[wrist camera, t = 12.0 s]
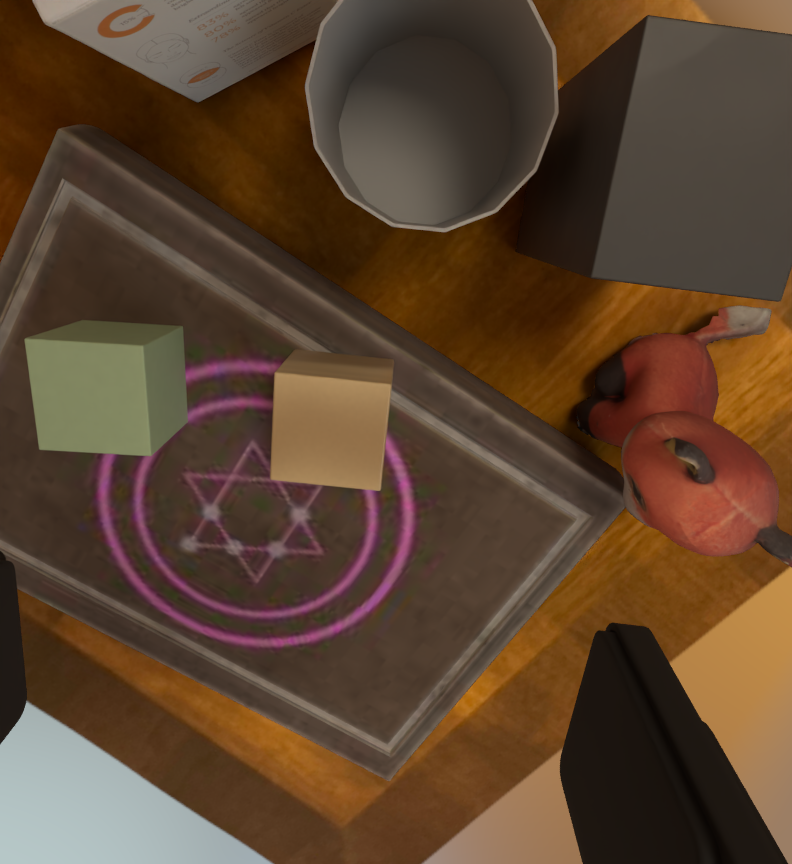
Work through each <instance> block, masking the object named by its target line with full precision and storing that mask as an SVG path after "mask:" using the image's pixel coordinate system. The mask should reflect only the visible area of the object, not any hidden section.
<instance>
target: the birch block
mask: <svg viewBox="0 0 792 864" xmlns="http://www.w3.org/2000/svg"><path fill="white" fill-rule="evenodd" d="M393 369H394V360H393V359H385V358H375V357H366V356H356V355H347V354H337V353H328V352H319V351H309V350H300V349H295V350H294V351H293V352H292V353H291V354H290V355H289V357H288V358H287V359H286V360H285V361H284V362H283V364H282V365H281V366H280V367H279V368H278V369H277V370H276V372H275V373H274V392H273V416H272V440H271V464H270V479H271V480H277V481H287V482H297V483H307V484H316V485H326V486H336V487H345V488H355V489H365V490H375V491H380V490H381V484H382V475H383V465H384V455H385V446H386V436H387V427H388V417H389V408H390V398H391V389H392V379H393Z"/></svg>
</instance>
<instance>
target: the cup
mask: <svg viewBox="0 0 792 864" xmlns="http://www.w3.org/2000/svg"><path fill="white" fill-rule="evenodd" d="M305 92H306V98H307V105H308V111H309V117H310V124H311V130H312V136H313V143H314V148H315V150H316V151H317V153H318V154H319V156H320V158H321V159H322V161H323V162H324V164H325V166H326V167H327V169H328V170H329V172H330V173H331V175H332V177H333V178H334V180H335V181H336V183H337V184H338V186H339V188H340V189H341V191H342V192H343V194H344V195H345V197H346V198H347V199H349V200H351V201H352V202H354V203H355V204H357V205H358V206H360V207H362V208H363V209H365V210H366V211H368V212H369V213H371V214H373V215H374V216H376V217H377V218H379V219H380V220H382V221H384V222H385V223H387V224H388V225H390V226H391V227H398V228H408V229H418V230H428V231H438V232H447V231H450V230H452V229H455V228H458V227H460V226H463V225H465V224H468V223H471V222H473V221H476V220H479V219H481V218H484V217H486V216H489V215H492V214H494V213H497V212H498V211H499V209H500V208H501V207H502V206H503V205H504V204H505V203H506V202H507V201H508V200H509V199H510V198H511V197H512V196H513V195H514V194H515V193H516V192H517V191H518V190H519V189H520V188H521V187H522V186H523V185H524V184H525V183H526V182H527V180H528V179H529V178H530V177H531V176H532V175H533V174H534V173H535V172H536V171H537V169H538V167H539V164H540V161H541V159H542V156H543V153H544V151H545V148H546V145H547V143H548V140H549V137H550V135H551V132H552V129H553V127H554V124H555V121H556V119H557V116H558V113H559V106H558V83H557V59H556V47H555V45H554V43H553V41H552V39H551V37H550V35H549V33H548V31H547V29H546V27H545V25H544V23H543V21H542V19H541V17H540V15H539V13H538V11H537V9H536V7H535V5H534V3H533V1H532V0H339V1H338V2H337V3H336V5H335V6H334V7H333V8H332V10H331V11H330V12H329V13H328V15H327V16H326V17H325V18H324V20H323V21H322V22H321V23H320V27H319V31H318V35H317V39H316V43H315V47H314V51H313V55H312V59H311V63H310V67H309V71H308V75H307V79H306V83H305Z"/></svg>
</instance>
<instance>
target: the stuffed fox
mask: <svg viewBox="0 0 792 864" xmlns="http://www.w3.org/2000/svg"><path fill="white" fill-rule="evenodd" d="M770 316H771V310H770V309H766V308H753V307H747V306H732V307H726V308H719V316H713V317H712V320H711V322H710V324H709V325H708V326H706V327H703V328H702V329H700V330H698V331H697V332H696V333H691V332H690V333H689V334H687V335H678V334H672V333H661V334H658V333H654V334H653V335H647V336H643V337H642V336H639V337H637V338H635V339H634V340H632V341H631V342H630V343H629V344H628V346H627V347H626V348H625V349H623V350H622V351H620V352H618V353H617V354H615V355H614V357H612V358H611V359H610V360H608V361H607V362H606V363H604V364H603V365H602V366H601V368H600V369H599V370H598V372H597V374H596V376H595V387H594V389H593V390H592V392H591V397H589V398H587V400H585V401H583V402H581V403H580V404H579V405H578V407H577V417H576V418H577V419H578V422H577V424H578V425H579V426H578V428H579V429H580V430H581V431H582V432H584V433H585V434H587V435H590V436H591V437H593V438H595V439H597V440H601V441H604V442H606V443H609V444H612V445H615V446H618V447H622V451H621V459H622V469H623V475H624V489H623V501H624V504H625V507H626V508H627V510H628V511H629V512H630V514H632V515H633V516H634V517H635V518H637V519H638V520H639V521H641V522H642V523H644V524H645V525H647V526H649V527H652V528H655V529H657V530H659V531H660V532H662V533H663V534H664V535H666V536H667V537H668V538H670V539H671V540H672V541H674V542H675V543H677V544H678V545H680V546H682V547H684V548H686V549H688V550H691V551H693V552H696V553H698V554H701V555H706V556H727V555H734V554H738V553H742V552H744V551H746V550H748V549H750V548H751V547H753V546H754V545H755V544H756V543H759V544H760V545H761V546H762V547H763V548H764V549H765V550H766V551H767V552H769V553H770V554H771V555H773V556H774V557H776V558H777V559H779V560H781V561H782V562H784V563H785V564H787V565H789V566H791V567H792V536H790V535H789V534H787V533H785V532H783V531H782V530H780V529H779V528H778V526H777V513H778V505H779V491H778V486H777V482H776V480H775V477H774V475H773V473H772V470H771V468H770V466H769V465H768V464H767V462H766V461H765V460H764V459H763V458H762V457H761V456H760V455H759V454H758V453H757V452H756V451H755V450H754V449H753V448H752V447H751V446H750V445H748V444H747V443H746V442H744V441H743V440H742V439H740V438H739V437H737V436H736V435H734V434H733V433H732V432H730V431H729V430H727V429H725V428H724V427H722V426H720V425H719V424H717V423H715V422H714V421H713V416H714V413H715V409H716V405H717V400H718V396H719V394H718V384H717V375H716V371H715V368H714V365H713V362H712V359H711V357H710V355H709V353H708V350H707V348H706V345H707V344H708V343H713V342H714V341H718V340H720V339H733V338H741V337H746V336H750V335H759V334H763V333H765V331H766V330H767V328H768V325H769V321H770Z"/></svg>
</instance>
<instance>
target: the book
mask: <svg viewBox="0 0 792 864" xmlns="http://www.w3.org/2000/svg"><path fill="white" fill-rule="evenodd" d="M81 320H91V321H108V322H124V323H141V324H157V325H174V326H183V336H184V355H185V374H186V393H187V412H188V422H187V423H186V424H185V425H184V426H183V427H182V428H181V429H180V430H179V431H178V432H177V433H175V434H174V435H173V436H172V437H171V438H170V439H169V440H168V441H167V442H166V443H165V444H164V445H163V446H161V447H160V448H159V449H158V450H157V451H156V452H155V453H154V454H153V455H152V456H137V455H120V454H104V453H87V452H70V451H54V450H40V449H39V444H38V437H37V429H36V422H35V414H34V407H33V400H32V392H31V385H30V377H29V370H28V362H27V355H26V348H25V338H28V337H31V336H34V335H37V334H40V333H43V332H47V331H50V330H53V329H56V328H59V327H62V326H66V325H69V324H72V323H75V322H78V321H81ZM295 349H300V350H309V351H319V352H328V353H337V354H347V355H356V356H366V357H375V358H385V359H393V360H394V369H393V379H392V389H391V398H390V408H389V417H388V427H387V436H386V446H385V455H384V465H383V475H382V484H381V490H380V491H375V490H365V489H355V488H345V487H336V486H326V485H316V484H307V483H297V482H287V481H277V480H271V479H270V464H271V440H272V416H273V392H274V373H275V372H276V370H277V369H278V368H279V367H280V366H281V365H282V364H283V362H284V361H285V360H286V359H287V358H288V357H289V355H290V354H291V353H292V352H293V351H294V350H295ZM623 489H624V478H623V477H622V475H621V474H620V473H619V472H618V471H617V470H616V469H615V468H614V467H612V466H611V465H609V464H608V463H606V462H605V461H603V460H602V459H600V458H599V457H597V456H596V455H594V454H593V453H591V452H589V451H588V450H586V449H585V448H583V447H582V446H580V445H579V444H577V443H576V442H574V441H573V440H571V439H570V438H568V437H567V436H565V435H564V434H562V433H561V432H559V431H558V430H556V429H555V428H553V427H552V426H550V425H549V424H547V423H546V422H544V421H543V420H541V419H539V418H538V417H536V416H535V415H533V414H532V413H530V412H529V411H527V410H526V409H524V408H523V407H521V406H520V405H518V404H517V403H515V402H514V401H512V400H511V399H509V398H508V397H506V396H505V395H503V394H502V393H500V392H499V391H497V390H496V389H494V388H493V387H491V386H489V385H488V384H486V383H485V382H483V381H482V380H480V379H479V378H477V377H476V376H474V375H473V374H471V373H470V372H468V371H467V370H465V369H464V368H462V367H461V366H459V365H458V364H456V363H455V362H453V361H452V360H450V359H449V358H447V357H446V356H444V355H443V354H441V353H439V352H438V351H436V350H435V349H433V348H432V347H430V346H429V345H427V344H426V343H424V342H423V341H421V340H420V339H418V338H417V337H415V336H414V335H412V334H411V333H409V332H408V331H406V330H405V329H403V328H402V327H400V326H399V325H397V324H396V323H394V322H392V321H391V320H389V319H388V318H386V317H385V316H383V315H382V314H380V313H379V312H377V311H376V310H374V309H373V308H371V307H370V306H368V305H367V304H365V303H364V302H362V301H361V300H359V299H358V298H356V297H355V296H353V295H352V294H350V293H349V292H347V291H346V290H344V289H342V288H341V287H339V286H338V285H336V284H335V283H333V282H332V281H330V280H329V279H327V278H326V277H324V276H323V275H321V274H320V273H318V272H317V271H315V270H314V269H312V268H311V267H309V266H308V265H306V264H305V263H303V262H302V261H300V260H299V259H297V258H296V257H294V256H292V255H291V254H289V253H288V252H286V251H285V250H283V249H282V248H280V247H279V246H277V245H276V244H274V243H273V242H271V241H270V240H268V239H267V238H265V237H264V236H262V235H261V234H259V233H258V232H256V231H255V230H253V229H252V228H250V227H249V226H247V225H246V224H244V223H242V222H241V221H239V220H238V219H236V218H235V217H233V216H232V215H230V214H229V213H227V212H226V211H224V210H223V209H221V208H220V207H218V206H217V205H215V204H214V203H212V202H211V201H209V200H208V199H206V198H205V197H203V196H202V195H200V194H199V193H197V192H196V191H194V190H192V189H191V188H189V187H188V186H186V185H185V184H183V183H182V182H180V181H179V180H177V179H176V178H174V177H173V176H171V175H170V174H168V173H167V172H165V171H164V170H162V169H161V168H159V167H158V166H156V165H155V164H153V163H152V162H150V161H149V160H147V159H145V158H144V157H142V156H141V155H139V154H138V153H136V152H135V151H133V150H132V149H130V148H129V147H127V146H126V145H124V144H123V143H121V142H120V141H118V140H117V139H115V138H114V137H112V136H111V135H109V134H108V133H106V132H105V131H103V130H101V129H100V128H97V127H94V126H91V125H86V124H78V125H73V126H69V127H64V128H59V129H58V130H57V133H56V135H55V137H54V140H53V142H52V144H51V146H50V149H49V151H48V153H47V156H46V158H45V160H44V163H43V165H42V167H41V170H40V172H39V174H38V177H37V179H36V181H35V184H34V186H33V188H32V191H31V193H30V195H29V198H28V200H27V202H26V205H25V207H24V209H23V212H22V214H21V216H20V218H19V221H18V223H17V225H16V228H15V230H14V232H13V235H12V237H11V239H10V242H9V244H8V246H7V249H6V251H5V253H4V256H3V258H2V260H1V263H0V551H1V552H3V554H4V555H5V557H6V560H7V561H11V562H12V563H13V564H14V567H15V573H16V583H17V589H19V590H21V591H23V592H25V593H27V594H29V595H31V596H33V597H35V598H37V599H38V600H40V601H42V602H44V603H46V604H48V605H50V606H52V607H54V608H56V609H58V610H60V611H62V612H64V613H65V614H67V615H69V616H71V617H73V618H75V619H77V620H79V621H81V622H83V623H85V624H87V625H89V626H91V627H93V628H94V629H96V630H98V631H100V632H102V633H104V634H106V635H108V636H110V637H112V638H114V639H116V640H118V641H120V642H121V643H123V644H125V645H127V646H129V647H131V648H133V649H135V650H137V651H139V652H141V653H143V654H145V655H147V656H148V657H150V658H152V659H154V660H156V661H158V662H160V663H162V664H164V665H166V666H168V667H170V668H172V669H174V670H175V671H177V672H179V673H181V674H183V675H185V676H187V677H189V678H191V679H193V680H195V681H197V682H199V683H201V684H202V685H204V686H206V687H208V688H210V689H212V690H214V691H216V692H218V693H220V694H222V695H224V696H226V697H228V698H230V699H231V700H233V701H235V702H237V703H239V704H241V705H243V706H245V707H247V708H249V709H251V710H253V711H255V712H257V713H258V714H260V715H262V716H264V717H266V718H268V719H270V720H272V721H274V722H276V723H278V724H280V725H282V726H284V727H285V728H287V729H289V730H291V731H293V732H295V733H297V734H299V735H301V736H303V737H305V738H307V739H309V740H311V741H312V742H314V743H316V744H318V745H320V746H322V747H324V748H326V749H328V750H330V751H332V752H334V753H336V754H338V755H339V756H341V757H343V758H345V759H347V760H349V761H351V762H353V763H355V764H357V765H359V766H361V767H363V768H365V769H367V770H368V771H370V772H372V773H374V774H376V775H378V776H380V777H382V778H384V779H386V780H388V781H390V780H391V779H392V777H393V776H394V775H395V774H396V773H397V772H398V770H399V769H400V768H401V767H402V766H403V765H404V764H405V762H406V761H407V760H408V759H409V758H410V757H411V755H412V754H413V753H414V752H415V751H416V750H417V748H418V747H419V746H420V745H421V744H422V743H423V741H424V740H425V739H426V738H427V737H428V736H429V735H430V733H431V732H432V731H433V730H434V729H435V728H436V726H437V725H438V724H439V723H440V722H441V721H442V719H443V718H444V717H445V716H446V715H447V714H448V712H449V711H450V710H451V709H452V708H453V707H454V706H455V704H456V703H457V702H458V701H459V700H460V699H461V697H462V696H463V695H464V694H465V693H466V692H467V690H468V689H469V688H470V687H471V686H472V685H473V683H474V682H475V681H476V680H477V679H478V678H479V677H480V675H481V674H482V673H483V672H484V671H485V670H486V668H487V667H488V666H489V665H490V664H491V663H492V661H493V660H494V659H495V658H496V657H497V656H498V654H499V653H500V652H501V651H502V650H503V649H504V648H505V646H506V645H507V644H508V643H509V642H510V641H511V639H512V638H513V637H514V636H515V635H516V634H517V632H518V631H519V630H520V629H521V628H522V627H523V625H524V624H525V623H526V622H527V621H528V620H529V619H530V617H531V616H532V615H533V614H534V613H535V612H536V610H537V609H538V608H539V607H540V606H541V605H542V603H543V602H544V601H545V600H546V599H547V598H548V596H549V595H550V594H551V593H552V592H553V591H554V589H555V588H556V587H557V586H558V585H559V584H560V583H561V581H562V580H563V579H564V578H565V577H566V576H567V574H568V573H569V572H570V571H571V570H572V569H573V567H574V566H575V565H576V564H577V563H578V562H579V560H580V559H581V558H582V557H583V556H584V555H585V554H586V552H587V551H588V550H589V549H590V548H591V547H592V545H593V544H594V543H595V542H596V541H597V540H598V538H599V537H600V536H601V535H602V534H603V533H604V531H605V530H606V529H607V528H608V527H609V526H610V525H611V523H612V522H613V521H614V520H615V519H616V518H617V516H618V515H619V514H620V513H621V512H622V511H623V509H624V508H625V504H624V501H623Z"/></svg>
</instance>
